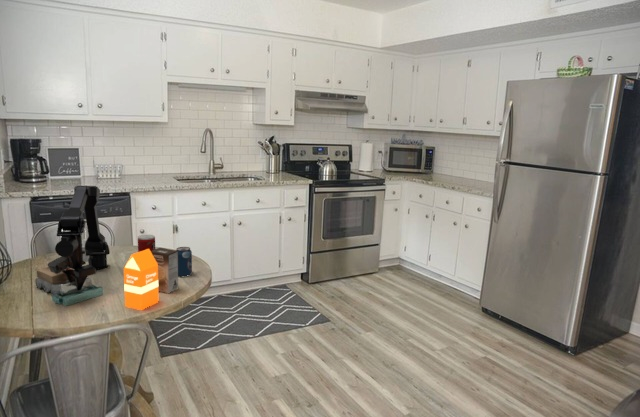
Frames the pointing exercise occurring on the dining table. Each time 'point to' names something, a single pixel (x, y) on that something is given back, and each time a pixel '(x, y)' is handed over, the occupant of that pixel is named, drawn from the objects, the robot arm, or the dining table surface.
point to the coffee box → (166, 269)
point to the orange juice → (141, 280)
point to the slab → (51, 276)
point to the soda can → (184, 261)
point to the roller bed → (68, 298)
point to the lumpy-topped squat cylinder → (85, 258)
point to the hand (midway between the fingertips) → (76, 288)
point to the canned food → (146, 242)
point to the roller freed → (74, 287)
